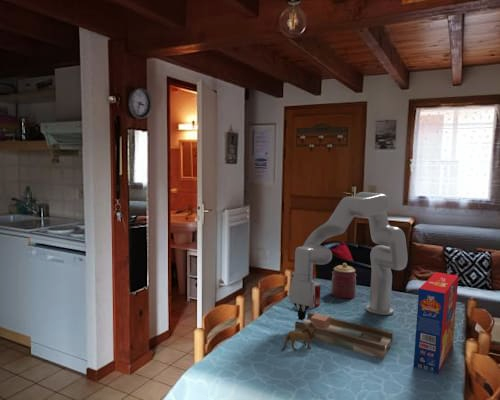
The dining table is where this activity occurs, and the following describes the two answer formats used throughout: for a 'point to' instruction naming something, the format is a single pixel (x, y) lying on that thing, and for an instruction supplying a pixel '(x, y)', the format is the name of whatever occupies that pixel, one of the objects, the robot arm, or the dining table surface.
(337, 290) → the canister
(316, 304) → the canned food
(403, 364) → the dining table surface
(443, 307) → the pasta box
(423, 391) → the dining table surface
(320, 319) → the block
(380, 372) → the dining table surface
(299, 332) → the lion figurine
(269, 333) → the dining table surface
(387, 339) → the channel board
